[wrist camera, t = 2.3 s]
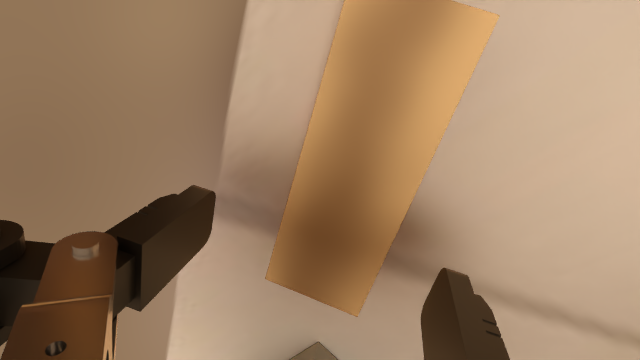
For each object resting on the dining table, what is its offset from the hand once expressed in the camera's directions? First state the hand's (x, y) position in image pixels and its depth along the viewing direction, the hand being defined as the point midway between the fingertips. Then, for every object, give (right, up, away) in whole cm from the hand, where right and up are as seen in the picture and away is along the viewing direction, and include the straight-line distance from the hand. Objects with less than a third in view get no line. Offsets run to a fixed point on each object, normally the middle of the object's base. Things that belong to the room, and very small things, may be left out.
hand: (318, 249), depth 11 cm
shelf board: (+2, +4, +5) cm, 7 cm away
